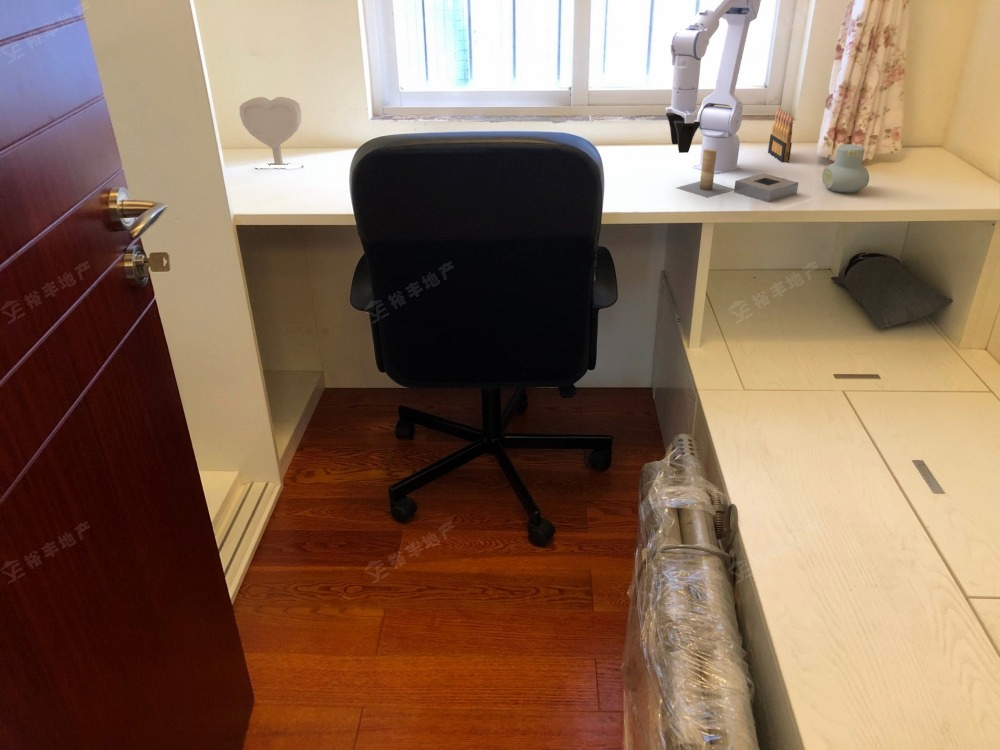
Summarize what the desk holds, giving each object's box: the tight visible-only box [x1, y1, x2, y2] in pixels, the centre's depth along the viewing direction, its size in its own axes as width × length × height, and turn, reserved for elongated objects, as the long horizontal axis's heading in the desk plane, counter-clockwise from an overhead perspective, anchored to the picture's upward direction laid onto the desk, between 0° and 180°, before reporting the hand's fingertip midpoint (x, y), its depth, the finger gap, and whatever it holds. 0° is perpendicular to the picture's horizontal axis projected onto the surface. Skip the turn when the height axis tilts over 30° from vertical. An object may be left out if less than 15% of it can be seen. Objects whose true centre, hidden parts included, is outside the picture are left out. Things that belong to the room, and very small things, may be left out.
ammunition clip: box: [767, 107, 794, 163], centre depth 211 cm, size 11×2×12 cm, turn 4°
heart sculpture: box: [239, 96, 302, 166], centre depth 212 cm, size 16×5×18 cm, turn 85°
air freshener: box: [821, 143, 870, 194], centre depth 185 cm, size 11×8×10 cm
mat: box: [675, 180, 734, 198], centre depth 190 cm, size 10×10×1 cm
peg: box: [699, 149, 717, 190], centre depth 188 cm, size 3×3×9 cm
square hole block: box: [733, 172, 799, 203], centre depth 185 cm, size 10×10×3 cm
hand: (680, 148), depth 186 cm, fingers open, 7 cm apart
